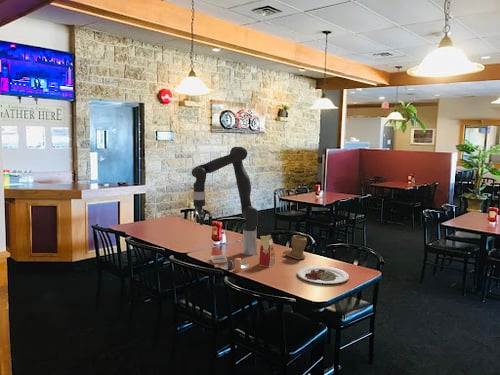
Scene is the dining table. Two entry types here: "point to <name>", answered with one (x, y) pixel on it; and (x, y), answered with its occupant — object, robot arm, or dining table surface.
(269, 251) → the milk carton
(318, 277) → the plated food
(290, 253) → the tan boot
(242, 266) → the base disc
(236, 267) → the stop pin
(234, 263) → the crank
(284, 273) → the dining table surface
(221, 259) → the tray
